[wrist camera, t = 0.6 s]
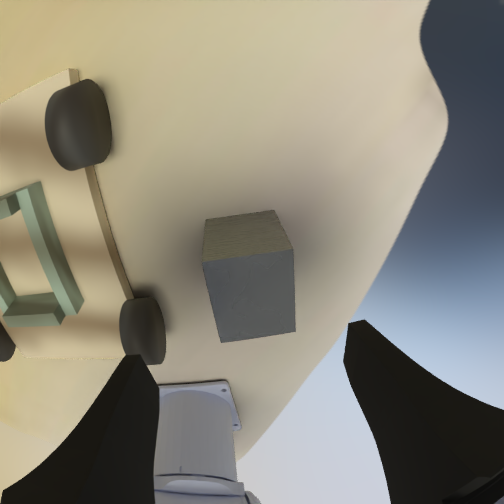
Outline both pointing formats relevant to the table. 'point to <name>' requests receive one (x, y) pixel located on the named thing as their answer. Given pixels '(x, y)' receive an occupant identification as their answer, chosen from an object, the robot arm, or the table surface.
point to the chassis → (64, 233)
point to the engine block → (249, 276)
